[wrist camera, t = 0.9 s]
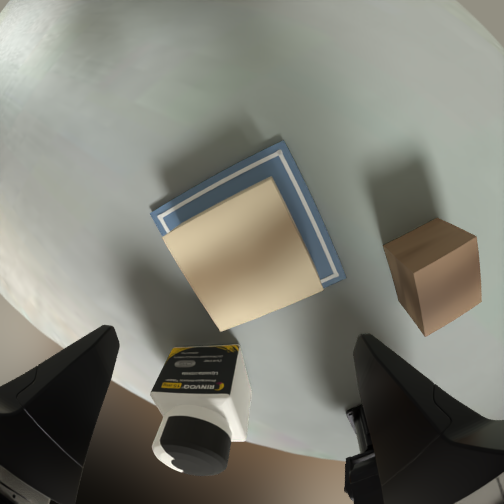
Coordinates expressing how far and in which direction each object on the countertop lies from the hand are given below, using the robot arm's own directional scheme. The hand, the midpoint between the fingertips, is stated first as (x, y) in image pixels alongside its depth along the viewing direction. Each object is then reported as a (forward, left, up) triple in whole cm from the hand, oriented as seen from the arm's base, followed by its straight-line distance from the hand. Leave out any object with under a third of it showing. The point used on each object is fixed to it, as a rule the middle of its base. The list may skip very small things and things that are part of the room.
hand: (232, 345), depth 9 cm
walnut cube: (-8, -12, -14) cm, 20 cm away
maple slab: (0, +1, -13) cm, 13 cm away
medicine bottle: (-11, +11, -14) cm, 20 cm away
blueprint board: (0, +1, -13) cm, 13 cm away
